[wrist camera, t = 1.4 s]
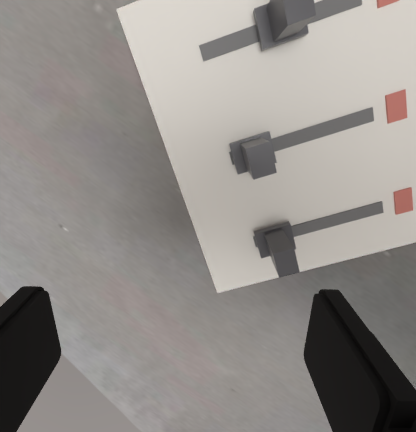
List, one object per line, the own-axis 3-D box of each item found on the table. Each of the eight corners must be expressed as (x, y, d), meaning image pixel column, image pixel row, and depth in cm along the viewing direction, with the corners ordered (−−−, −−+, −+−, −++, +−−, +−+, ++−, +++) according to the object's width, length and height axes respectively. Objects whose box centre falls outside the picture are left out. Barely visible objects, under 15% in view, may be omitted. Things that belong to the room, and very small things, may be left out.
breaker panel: (403, -86, 22) (433, -118, 19) (420, 224, 31) (442, 236, 28) (127, 21, 25) (115, 8, 22) (216, 278, 34) (217, 294, 31)
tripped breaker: (298, -5, 21) (323, -40, 16) (305, 35, 22) (331, 13, 17) (252, 12, 21) (264, -18, 17) (261, 51, 22) (274, 34, 18)
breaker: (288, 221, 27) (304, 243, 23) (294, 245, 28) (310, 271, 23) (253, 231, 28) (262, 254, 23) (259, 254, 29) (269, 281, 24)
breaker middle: (267, 131, 24) (281, 134, 20) (274, 161, 25) (289, 171, 21) (228, 143, 25) (232, 149, 20) (237, 172, 26) (242, 185, 21)
